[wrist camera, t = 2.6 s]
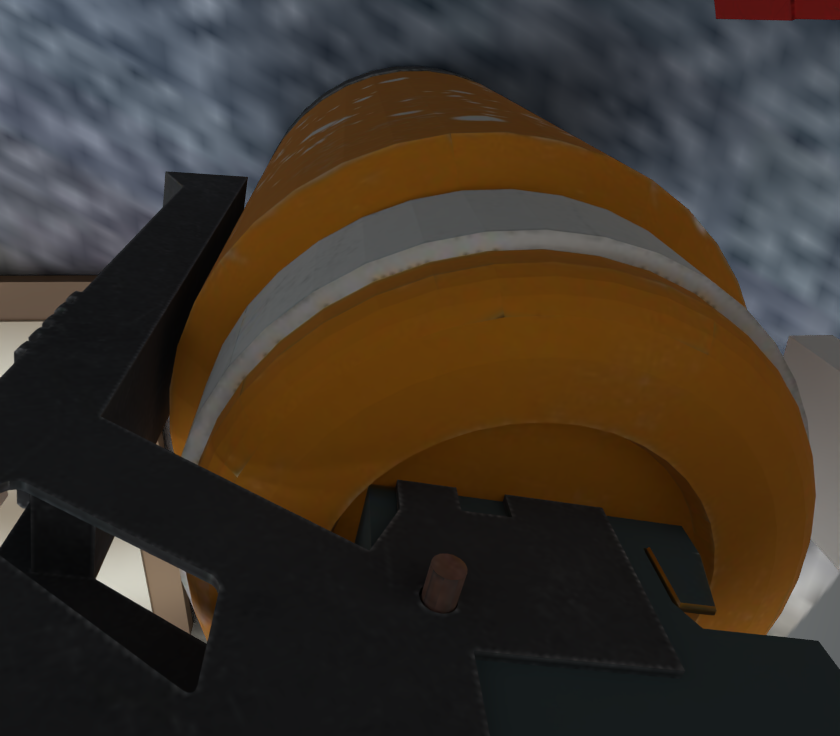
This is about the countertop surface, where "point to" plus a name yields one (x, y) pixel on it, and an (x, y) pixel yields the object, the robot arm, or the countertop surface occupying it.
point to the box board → (124, 563)
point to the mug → (777, 9)
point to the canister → (412, 452)
